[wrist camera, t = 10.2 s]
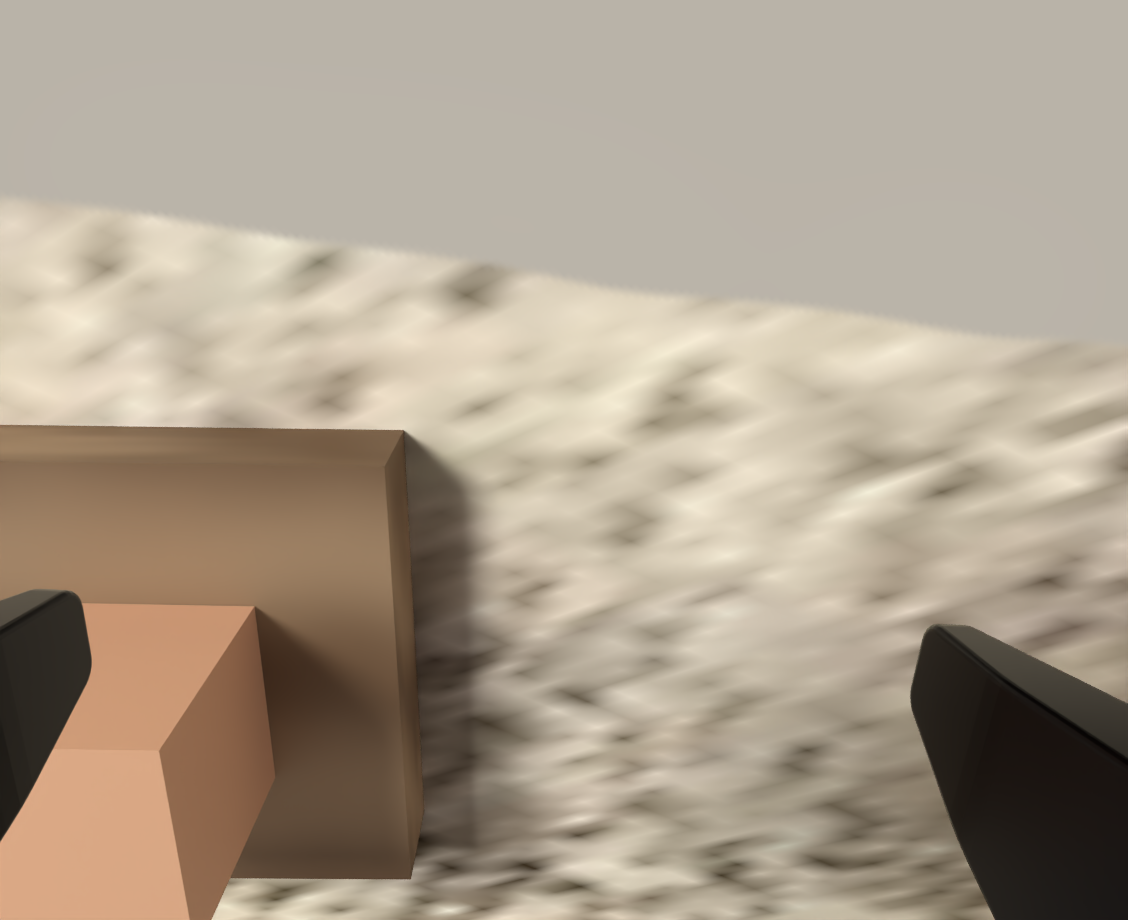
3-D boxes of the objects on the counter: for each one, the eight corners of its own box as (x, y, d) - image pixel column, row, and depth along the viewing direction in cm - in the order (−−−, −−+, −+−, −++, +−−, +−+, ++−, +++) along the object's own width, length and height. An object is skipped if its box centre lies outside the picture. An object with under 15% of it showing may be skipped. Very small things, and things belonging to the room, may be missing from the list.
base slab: (427, 798, 26) (410, 879, 23) (29, 794, 25) (-37, 876, 23) (407, 423, 21) (384, 466, 18) (-70, 417, 21) (-167, 459, 18)
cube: (275, 777, 21) (195, 954, 17) (78, 774, 21) (-57, 950, 17) (254, 606, 20) (159, 750, 15) (40, 602, 20) (-124, 746, 15)
